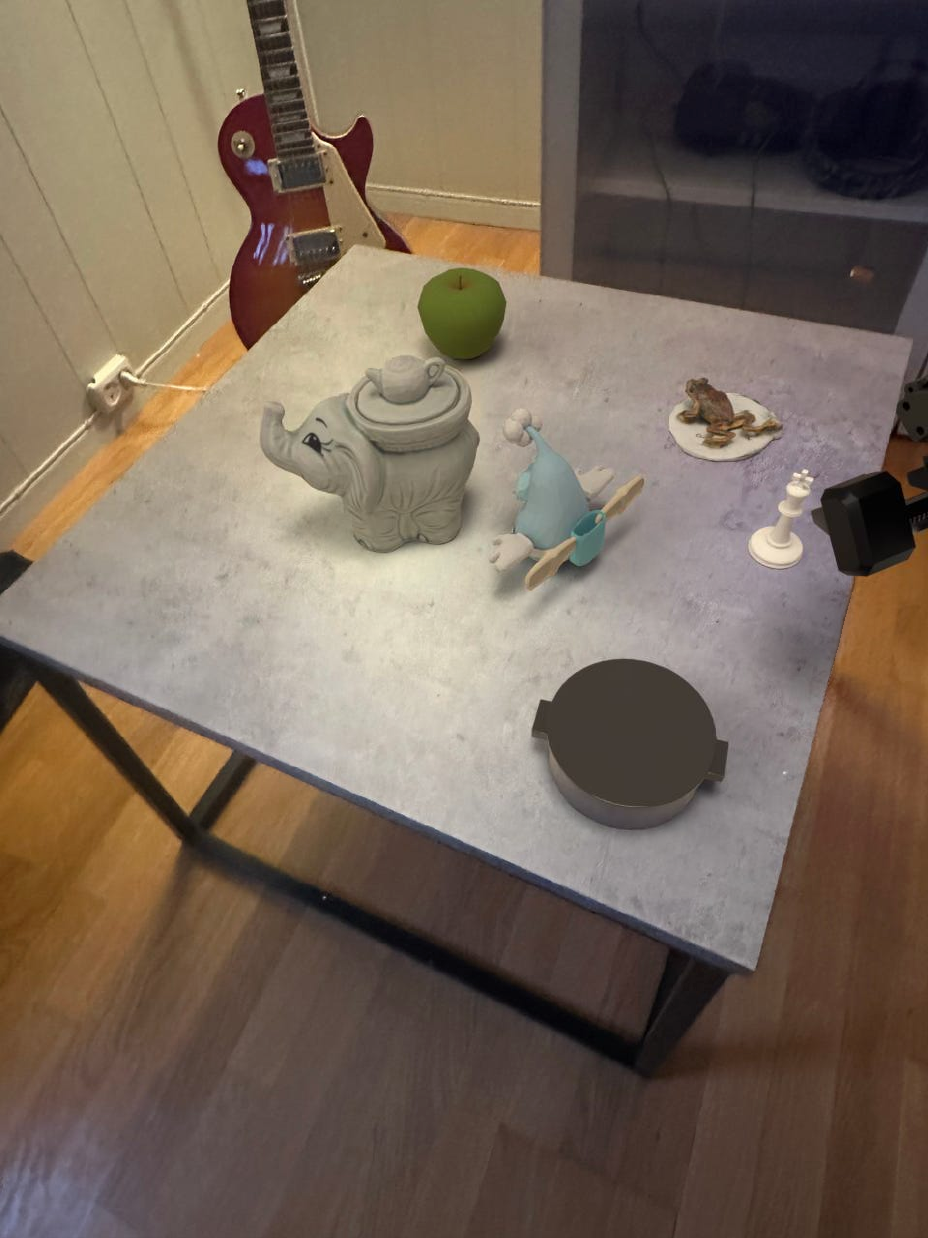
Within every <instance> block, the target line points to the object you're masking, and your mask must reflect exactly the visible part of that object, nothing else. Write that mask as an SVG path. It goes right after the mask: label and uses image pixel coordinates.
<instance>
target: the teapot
mask: <svg viewBox="0 0 928 1238" xmlns="http://www.w3.org/2000/svg"><path fill="white" fill-rule="evenodd" d="M472 403H473V396H472V391H471V387H470V385H469V383H468V380H467V379H466V378H465V377H464V375H463V374H462V372H461V371H459V370H458V369H457V368H455V367H452V366H451V365H448V364H446V363H445V361H444V359H443V358H441V357H439V356H436V357H435V356H434V357H430V358H428V359H427V360H426V361H423V360H422V359H420V358H418V357H417V356H414V355H409V354H401V355H397V356H394V357H392V358H390V359H389V360H388V361H386V362H385V363H384V365H383V367H382V368H381V367H380V368H374V367H367V368H366V369H365V371H364V376H363V377H361V378H360V379H359V380H357V381H356V383H354V385H353V386H352V388H351V390H350V391H349V392H342V393H340V394H338V395H334V396H329V397H327V398H324V399H323V400H321V401H320V402H319V403H317V404H316V405H315V406H314V407H313V409H312V410H311V411H310V413H309V414H308V415H307V417H306V418H305V420H304V421H303V422H302V424H301V425H300V426H298V428H296V429H294V430H288V429H286V428H285V425H284V423H283V420H284V417H285V415H286V409H285V407H284V405H283V403H281V402H277V401H265V403H264V405H263V411H262V417H261V421H260V431H259V444H260V448H261V452H262V453H263V455H264V456H265V458H266V459H267V460H268V462H270V463H272V464H273V465H274V466H275V467H277V468H279V469H281V470H283V471H285V472H288V473H291V474H294V475H296V476H297V477H300V478H301V479H303V480H304V481H305V482H306V483H307V484H308V485H309V486H310V487H311V488H313V489H315V490H317V491H319V492H322V493H325V494H329V495H330V494H331V495H336V496H338V497H339V498H341V500H342V507H343V512H344V515H345V518H346V520H347V521H348V522H349V524H350V525H351V526H352V528H353V538H354V540H355V542H357V544H359V545H360V546H362V547H363V548H365V549H366V550H369V551H372V552H376V553H377V552H378V553H389V552H393V551H395V550H397V549H398V548H400V547H401V546H403V545H404V544H406V543H409V542H412V541H418V542H423V543H428V544H431V545H432V544H435V545H437V544H438V545H439V544H444V543H448V542H449V541H451V540H453V539H454V538H456V536H457V535H458V533H459V530H460V529H461V525H462V502H463V499H464V495H465V491H466V484H467V482H468V480H469V478H470V475H471V473H472V471H473V468H474V465H475V461H476V458H477V451H478V448H479V446H480V442H481V436H480V433H479V431H478V430H477V429H476V427H475V426H474V424H472V422H471V420H469V417H470V412H471V408H472Z"/></svg>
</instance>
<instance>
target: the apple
mask: <svg viewBox="0 0 928 1238" xmlns="http://www.w3.org/2000/svg"><path fill="white" fill-rule="evenodd" d="M418 299H419V300H418V303H417V306H416V307H417V311H418V314H419V317H420V321H421V323H422V327H423V329H424V333H425V335H426V336H427V337H428V339H429V340H430V341H431V342H432V345H434V347H435V348H436V349H437V350H438V351H439V352H440V354H441V355H443V356H446V357H449V358H451V359H459V360H472V359H476V358H477V357H479V356H481V355H482V354H484V353H486V352H487V351H488V350H489V349H490V348H491V347H492V345H493V343H494V342H495V339H496V338H497V336H498V334H499V332H500V330H501V328H502V325H503V323H504V321H505V317H506V315H505V314H506V309H507V299H506V297H505V294H504V292H503V289H502V286H501V284H500V282H499V281H498V280H497V279H495V278H494V277H493V276H491V275H490V274H487V273H485V272H484V271H481V270H478V269H475V268H469V267H455V268H449V269H448V270H445V271H443V272H441V273H440V274H439V273H438V274H437V275H435V276H432V277H431V278H430V280H428V281H427V282H426V283H425V284H424V285H423V287H422V290H421V292H420V295H419V298H418Z"/></svg>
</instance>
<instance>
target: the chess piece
mask: <svg viewBox="0 0 928 1238" xmlns="http://www.w3.org/2000/svg"><path fill="white" fill-rule="evenodd" d="M808 473H809V470H808V469H802V472H801V473H799V472H793V474H792V476H791V478H790V480H792V481H790V482H788V484H787V485H786V487H785V493H786V498H785V499H782V500H781V501H780V503H779V504H778V506H777V507H778V511H779V513H781V515H780V518H779V519H778V521H777V523H776V524H775V526H773V525H772V526H764V527H762V528H759V529H757V530H756V531H754V533H753V534H752V535H751V537H750V539H749V541H748V545H747V547H748V552H749V554H750V556H751V557H752V558H753V559H754V560H755V561H756V562H757V563H759V564H760V565H763V566H765V567H767V568H771V569H779V570H780V569H782V570H783V569H789V568H791V567H794V566H795V565H797V564H798V563H799V562H800V561H801V559H802V556H803V551H804V546H803V542H802V540H801V539H800V537H799V536H798V535H797V534H796V533H795V532H793V531H792V526H793V522H794V519H795V518H798V517H800V516H801V515H803V513H804V506H803V504H802V503H803V502H804V500H806V498H808V497H809V496H810V495H811V487H810V486H812V484H813V482H814V479H815V478H813V477H811V476H808Z"/></svg>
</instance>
